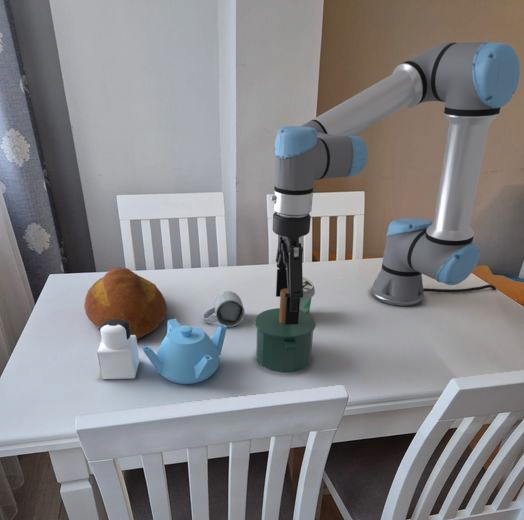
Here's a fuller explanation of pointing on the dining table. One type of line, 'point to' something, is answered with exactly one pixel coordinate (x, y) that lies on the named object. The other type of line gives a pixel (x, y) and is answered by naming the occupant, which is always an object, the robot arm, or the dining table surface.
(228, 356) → the dining table surface
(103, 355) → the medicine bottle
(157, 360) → the teapot
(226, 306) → the ceramic mug
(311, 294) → the food container
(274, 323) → the canister lid
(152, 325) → the bread
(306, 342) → the canister
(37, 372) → the dining table surface
